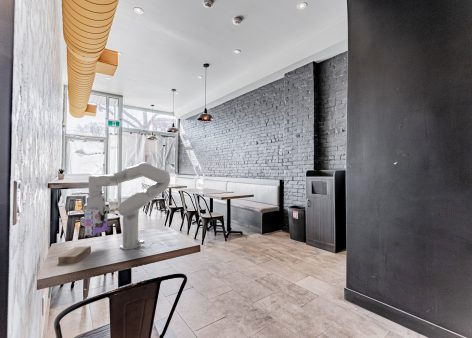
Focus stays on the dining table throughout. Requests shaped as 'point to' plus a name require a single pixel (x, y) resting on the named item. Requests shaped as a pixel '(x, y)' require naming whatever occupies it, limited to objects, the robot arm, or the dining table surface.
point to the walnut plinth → (74, 254)
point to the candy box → (94, 222)
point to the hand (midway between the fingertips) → (96, 220)
